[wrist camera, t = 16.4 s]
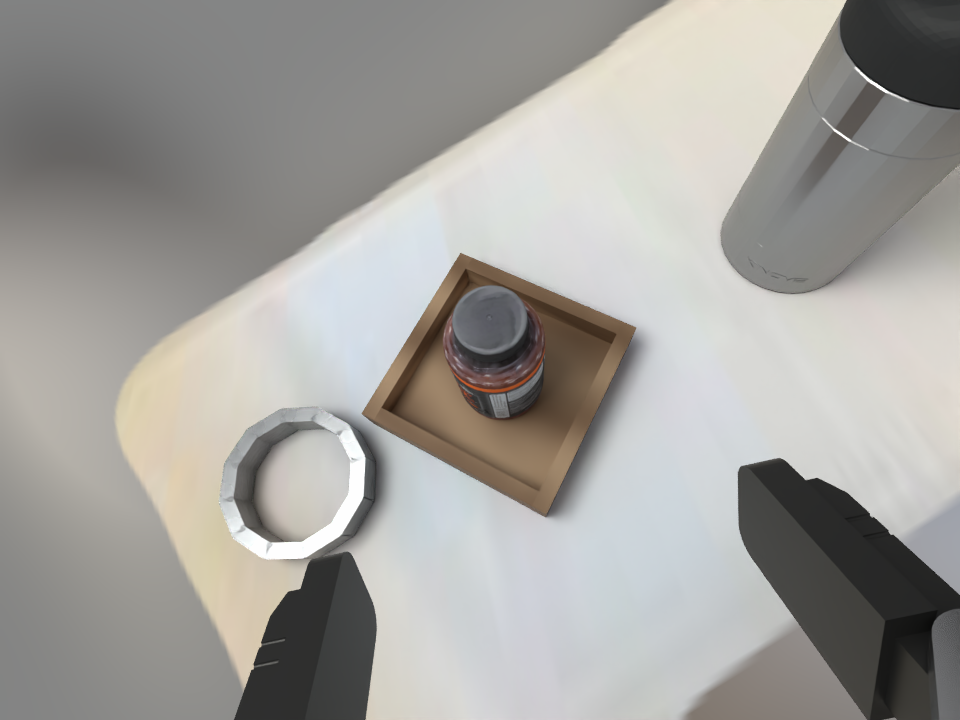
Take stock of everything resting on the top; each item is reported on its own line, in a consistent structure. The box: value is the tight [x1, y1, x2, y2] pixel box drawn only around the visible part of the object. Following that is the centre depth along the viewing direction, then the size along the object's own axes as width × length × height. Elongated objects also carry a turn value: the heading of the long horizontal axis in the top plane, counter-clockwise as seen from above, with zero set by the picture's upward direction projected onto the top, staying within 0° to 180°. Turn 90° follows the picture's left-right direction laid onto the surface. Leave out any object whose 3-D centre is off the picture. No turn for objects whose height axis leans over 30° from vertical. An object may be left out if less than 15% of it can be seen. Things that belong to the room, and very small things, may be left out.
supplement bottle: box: [443, 285, 545, 420], centre depth 32 cm, size 6×6×11 cm
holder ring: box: [219, 407, 376, 559], centre depth 36 cm, size 10×10×2 cm
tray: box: [362, 253, 636, 517], centre depth 37 cm, size 14×14×3 cm
